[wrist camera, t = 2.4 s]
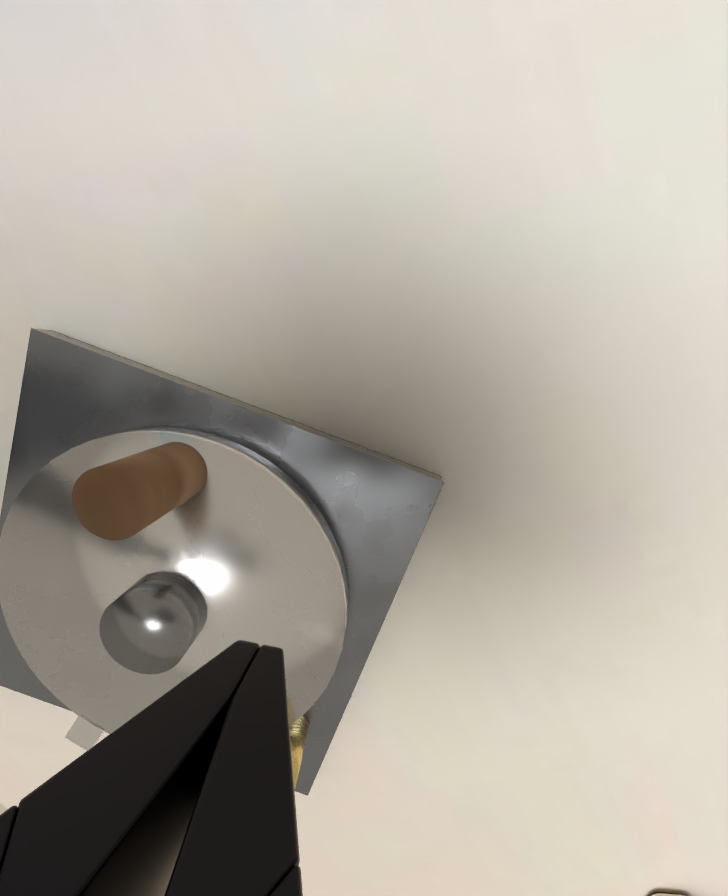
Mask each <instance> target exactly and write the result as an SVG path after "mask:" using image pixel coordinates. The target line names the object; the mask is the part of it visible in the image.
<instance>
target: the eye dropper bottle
mask: <svg viewBox="0 0 728 896" xmlns="http://www.w3.org/2000/svg"><path fill="white" fill-rule="evenodd" d="M651 896H685V895H678V894H664V893H658V894H653V895H651Z"/></svg>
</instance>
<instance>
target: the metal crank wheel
mask: <svg viewBox="0 0 728 896" xmlns="http://www.w3.org/2000/svg"><path fill="white" fill-rule="evenodd" d="M348 595H349V592H348V584H347V576H346V570H345V567H344V563H343V559H342V556H341V552H340V549H339V547H338V545H337V542H336V540H335V537H334V535H333V533H332V531H331V529H330V527H329V526H328V524H327V522H326V520H325V519H324V517H323V515H322V514H321V512H320V511H319V509H318V508H317V507H316V505H315V504H314V503H313V501H312V500H311V499H310V498H309V496H308V495H307V494H306V493H305V492H304V491H303V490H302V489H301V488H300V487H299V486H298V485H297V484H296V483H295V482H294V481H293V480H292V479H291V478H290V477H289V476H288V475H287V474H286V473H284V472H283V471H282V470H281V469H279V468H278V467H277V466H275V465H274V464H273V463H272V462H270V461H269V460H267V459H265V458H264V457H262V456H260V455H259V454H257V453H255V452H254V451H252V450H250V449H248V448H246V447H244V446H242V445H239V444H237V443H235V442H233V441H230V440H228V439H225V438H222V437H219V436H215V435H212V434H209V433H205V432H201V431H195V430H189V429H183V428H162V427H156V428H146V429H136V430H131V431H127V432H122V433H118V434H114V435H110V436H106V437H102V438H98V439H94V440H91V441H88V442H86V443H83V444H81V445H78V446H76V447H74V448H71V449H69V450H68V451H66V452H64V453H63V454H61V455H59V456H58V457H56V458H54V459H53V460H51V461H50V462H49V463H48V464H47V465H45V466H44V467H43V468H42V469H41V470H39V471H38V472H37V473H36V474H35V475H34V476H33V477H32V478H31V480H30V481H29V482H28V483H27V484H26V485H25V487H24V488H23V489H22V490H21V492H20V493H19V495H18V497H17V498H16V500H15V501H14V503H13V505H12V506H11V508H10V511H9V513H8V515H7V518H6V520H5V523H4V525H3V528H2V532H1V536H0V604H1V609H2V612H3V615H4V618H5V621H6V624H7V627H8V629H9V631H10V634H11V636H12V638H13V640H14V642H15V644H16V646H17V648H18V650H19V651H20V653H21V655H22V656H23V658H24V659H25V661H26V663H27V664H28V666H29V667H30V668H31V670H32V671H33V672H34V673H35V675H36V676H37V677H38V679H39V680H40V681H41V682H42V683H43V684H44V685H45V687H46V688H47V689H48V690H49V691H50V692H51V693H52V694H53V695H54V696H55V697H56V698H57V699H59V700H60V701H61V702H62V703H63V704H64V705H66V706H67V707H68V708H69V709H70V710H72V711H73V712H74V713H76V714H77V715H79V716H78V718H77V719H76V721H75V722H74V724H73V726H72V727H71V729H70V730H69V732H68V733H67V735H66V736H65V738H67V739H69V740H70V741H72V742H74V743H75V744H77V745H79V746H80V747H82V748H84V749H85V750H87V751H88V750H89V749H91V748H92V747H93V746H94V745H95V744H96V743H97V741H98V740H99V739H100V737H101V736H102V735H103V734H104V732H107V733H109V734H111V733H112V732H114V731H115V730H116V729H118V728H119V727H121V726H122V725H123V724H125V723H126V722H127V721H129V720H130V719H131V718H133V717H134V716H135V715H137V714H138V713H139V712H141V711H142V710H144V709H145V708H146V707H148V706H149V705H150V704H152V703H153V702H154V701H156V700H157V699H158V698H160V697H161V696H163V695H164V694H165V693H167V692H168V691H169V690H171V689H172V688H173V687H175V686H176V685H177V684H179V683H180V682H181V681H183V680H184V679H186V678H187V677H188V676H190V675H191V674H192V673H194V672H195V671H196V670H198V669H199V668H200V667H202V666H203V665H204V664H206V663H207V662H209V661H210V660H211V659H213V658H214V657H215V656H217V655H218V654H219V653H221V652H222V651H223V650H225V649H226V648H227V647H229V646H230V645H232V644H233V643H234V642H236V641H238V640H244V641H249V642H254V643H258V644H259V645H260V647H261V646H262V645H269V646H274V647H279V648H282V649H283V652H284V665H285V678H286V691H287V704H288V717H289V726H290V725H292V724H293V723H294V722H295V721H297V720H298V719H299V718H301V717H302V716H303V715H304V714H305V713H306V712H307V711H308V710H309V709H310V708H311V707H312V706H313V705H314V704H315V702H316V701H317V700H318V698H319V697H320V696H321V694H322V693H323V691H324V690H325V689H326V687H327V685H328V683H329V681H330V679H331V677H332V675H333V674H334V672H335V670H336V667H337V664H338V661H339V658H340V655H341V652H342V647H343V641H344V635H345V629H346V623H347V617H348Z"/></svg>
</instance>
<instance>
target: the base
mask: <svg viewBox="0 0 728 896" xmlns="http://www.w3.org/2000/svg"><path fill="white" fill-rule="evenodd" d="M156 427H162V428H183V429H189V430H195V431H201V432H205V433H209V434H212V435H215V436H219V437H222V438H225V439H228V440H230V441H233V442H235V443H237V444H239V445H242V446H244V447H246V448H248V449H250V450H252V451H254V452H255V453H257V454H259V455H260V456H262V457H264V458H265V459H267V460H269V461H270V462H272V463H273V464H274V465H275V466H277V467H278V468H279V469H281V470H282V471H283V472H284V473H286V474H287V475H288V476H289V477H290V478H291V479H292V480H293V481H294V482H295V483H296V484H297V485H298V486H299V487H300V488H301V489H302V490H303V491H304V492H305V493H306V494H307V495H308V496H309V498H310V499H311V500H312V501H313V503H314V504H315V505H316V507H317V508H318V509H319V511H320V512H321V514H322V515H323V517H324V519H325V520H326V522H327V524H328V526H329V527H330V529H331V531H332V533H333V535H334V537H335V540H336V542H337V545H338V547H339V549H340V552H341V556H342V559H343V563H344V567H345V570H346V576H347V584H348V592H349V595H348V617H347V623H346V629H345V635H344V641H343V647H342V652H341V655H340V658H339V661H338V664H337V667H336V670H335V672H334V674H333V675H332V677H331V679H330V681H329V683H328V685H327V687H326V689H325V690H324V691H323V693H322V694H321V696H320V697H319V698H318V700H317V701H316V702H315V704H314V705H313V706H312V707H311V708H310V709H309V710H308V711H307V712H306V713H305V714H304V715H303V716H302V717H301V718H299V719H298V720H297V721H295V722H294V723H293V724H292V725H290V726H289V730H290V742H291V755H292V768H293V781H294V791H296V792H299V793H302V794H305V795H308V793H309V791H310V789H311V787H312V784H313V782H314V780H315V777H316V775H317V773H318V771H319V768H320V766H321V764H322V761H323V759H324V757H325V754H326V752H327V750H328V748H329V745H330V743H331V741H332V738H333V736H334V734H335V732H336V729H337V727H338V725H339V722H340V720H341V718H342V715H343V713H344V711H345V709H346V706H347V704H348V702H349V699H350V697H351V695H352V693H353V690H354V688H355V686H356V683H357V681H358V679H359V676H360V674H361V672H362V670H363V667H364V665H365V663H366V660H367V658H368V656H369V654H370V651H371V649H372V647H373V644H374V642H375V640H376V638H377V635H378V633H379V631H380V628H381V626H382V624H383V621H384V619H385V617H386V615H387V612H388V610H389V608H390V605H391V603H392V601H393V599H394V596H395V594H396V592H397V589H398V587H399V585H400V582H401V580H402V578H403V576H404V573H405V571H406V569H407V566H408V564H409V562H410V560H411V557H412V555H413V553H414V550H415V548H416V546H417V543H418V541H419V539H420V537H421V534H422V532H423V530H424V527H425V525H426V523H427V521H428V518H429V516H430V514H431V511H432V509H433V507H434V504H435V502H436V500H437V498H438V495H439V493H440V491H441V488H442V486H443V484H444V481H443V479H442V477H441V476H439V475H436V474H434V473H431V472H428V471H426V470H423V469H420V468H418V467H415V466H412V465H410V464H407V463H404V462H402V461H399V460H396V459H394V458H391V457H388V456H386V455H383V454H380V453H378V452H375V451H372V450H369V449H367V448H364V447H361V446H359V445H356V444H353V443H351V442H348V441H345V440H343V439H340V438H337V437H335V436H332V435H329V434H327V433H324V432H321V431H319V430H316V429H313V428H311V427H308V426H305V425H303V424H300V423H297V422H295V421H292V420H289V419H287V418H284V417H281V416H279V415H276V414H273V413H271V412H268V411H265V410H263V409H260V408H257V407H255V406H252V405H249V404H247V403H244V402H241V401H238V400H236V399H233V398H230V397H228V396H225V395H222V394H220V393H217V392H214V391H212V390H209V389H206V388H204V387H201V386H198V385H196V384H193V383H190V382H188V381H185V380H182V379H180V378H177V377H174V376H172V375H169V374H166V373H164V372H161V371H158V370H156V369H153V368H150V367H148V366H145V365H142V364H140V363H137V362H134V361H132V360H129V359H126V358H124V357H121V356H118V355H116V354H113V353H110V352H108V351H105V350H102V349H99V348H97V347H94V346H91V345H89V344H86V343H83V342H81V341H78V340H75V339H73V338H70V337H67V336H65V335H62V334H59V333H57V332H54V331H51V330H43V329H34V328H31V332H30V338H29V344H28V351H27V357H26V363H25V369H24V375H23V381H22V387H21V394H20V400H19V406H18V412H17V418H16V424H15V430H14V437H13V443H12V449H11V455H10V461H9V467H8V474H7V480H6V486H5V492H4V498H3V504H2V510H1V517H0V536H1V532H2V528H3V525H4V523H5V520H6V518H7V515H8V513H9V511H10V508H11V506H12V505H13V503H14V501H15V500H16V498H17V497H18V495H19V493H20V492H21V490H22V489H23V488H24V487H25V485H26V484H27V483H28V482H29V481H30V480H31V478H32V477H33V476H34V475H35V474H36V473H37V472H38V471H39V470H41V469H42V468H43V467H44V466H45V465H47V464H48V463H49V462H50V461H51V460H53V459H54V458H56V457H58V456H59V455H61V454H63V453H64V452H66V451H68V450H69V449H71V448H74V447H76V446H78V445H81V444H83V443H86V442H88V441H91V440H94V439H98V438H102V437H106V436H110V435H114V434H118V433H122V432H127V431H131V430H136V429H146V428H156ZM0 686H3V687H6V688H9V689H11V690H14V691H17V692H20V693H23V694H25V695H28V696H31V697H34V698H37V699H39V700H42V701H45V702H48V703H51V704H53V705H56V706H59V707H62V708H65V709H67V710H70V709H69V708H68V707H67V706H66V705H64V704H63V703H62V702H61V701H60V700H59V699H57V698H56V697H55V696H54V695H53V694H52V693H51V692H50V691H49V690H48V689H47V688H46V687H45V685H44V684H43V683H42V682H41V681H40V680H39V679H38V677H37V676H36V675H35V673H34V672H33V671H32V670H31V668H30V667H29V666H28V664H27V663H26V661H25V659H24V658H23V656H22V655H21V653H20V651H19V650H18V648H17V646H16V644H15V642H14V640H13V638H12V636H11V634H10V631H9V629H8V627H7V624H6V621H5V618H4V615H3V612H2V609H1V604H0ZM70 711H72V710H70Z"/></svg>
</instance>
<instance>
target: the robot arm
mask: <svg viewBox="0 0 728 896" xmlns="http://www.w3.org/2000/svg"><path fill="white" fill-rule="evenodd" d="M299 860H300V859H299V846H298V833H297V820H296V807H295V794H294V781H293V768H292V755H291V742H290V730H289V717H288V704H287V691H286V678H285V665H284V652H283V649H282V648H279V647H274V646H269V645H262V646H261V647H260V645H259V644H258V643H254V642H249V641H244V640H238V641H236V642H234V643H233V644H232V645H230V646H229V647H227V648H226V649H225V650H223V651H222V652H221V653H219V654H218V655H217V656H215V657H214V658H213V659H211V660H210V661H209V662H207V663H206V664H204V665H203V666H202V667H200V668H199V669H198V670H196V671H195V672H194V673H192V674H191V675H190V676H188V677H187V678H186V679H184V680H183V681H181V682H180V683H179V684H177V685H176V686H175V687H173V688H172V689H171V690H169V691H168V692H167V693H165V694H164V695H163V696H161V697H160V698H158V699H157V700H156V701H154V702H153V703H152V704H150V705H149V706H148V707H146V708H145V709H144V710H142V711H141V712H139V713H138V714H137V715H135V716H134V717H133V718H131V719H130V720H129V721H127V722H126V723H125V724H123V725H122V726H121V727H119V728H118V729H116V730H115V731H114V732H112V733H111V734H110V735H108V736H107V737H106V738H104V739H103V740H102V741H100V742H99V743H98V744H96V745H95V746H93V747H92V748H91V749H89V750H88V751H87V752H85V753H84V754H83V755H81V756H80V757H79V758H77V759H76V760H75V761H73V762H72V763H70V764H69V765H68V766H66V767H65V768H64V769H62V770H61V771H60V772H58V773H57V774H56V775H54V776H53V777H51V778H50V779H49V780H47V781H46V782H45V783H43V784H42V785H41V786H39V787H38V788H37V789H35V790H34V791H33V792H31V793H30V794H28V795H27V796H26V797H24V798H23V799H22V800H21V801H20V803H19V806H18V807H17V806H12V807H10V808H9V809H8V810H6V811H5V812H4V813H3V814H1V815H0V896H303V894H302V881H301V869H300V867H299Z"/></svg>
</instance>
